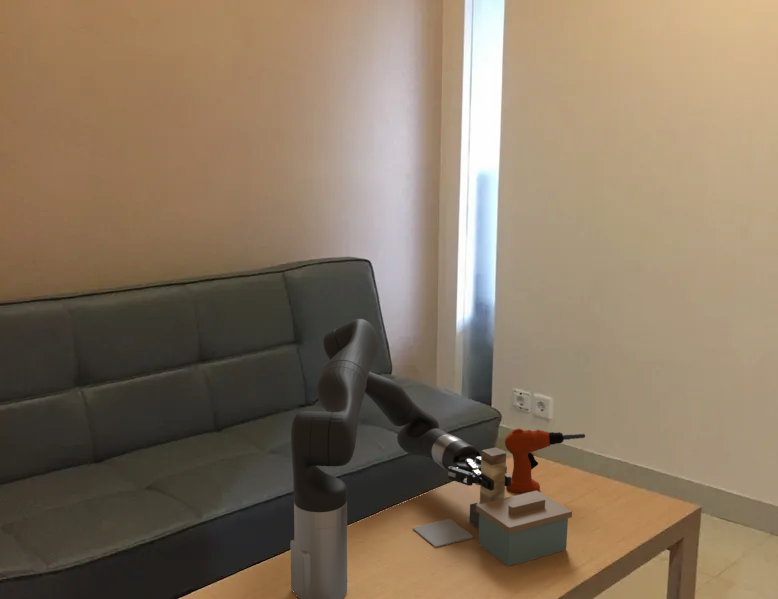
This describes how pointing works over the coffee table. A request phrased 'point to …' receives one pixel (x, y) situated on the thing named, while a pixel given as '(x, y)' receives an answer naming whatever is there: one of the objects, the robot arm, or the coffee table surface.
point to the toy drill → (529, 455)
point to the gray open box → (474, 515)
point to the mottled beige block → (493, 474)
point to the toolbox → (523, 527)
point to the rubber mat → (442, 533)
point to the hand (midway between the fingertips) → (500, 483)
